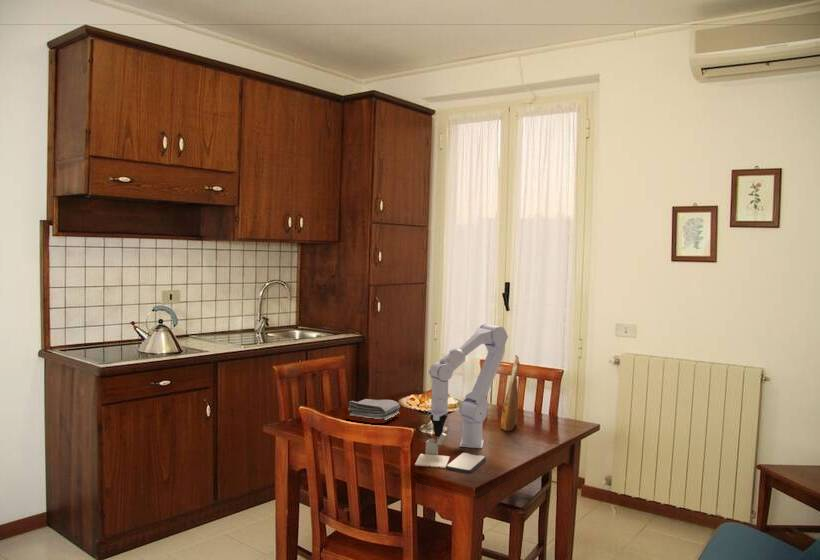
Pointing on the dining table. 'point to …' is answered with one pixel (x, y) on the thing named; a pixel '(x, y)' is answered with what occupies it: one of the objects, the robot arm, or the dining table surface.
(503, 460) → the dining table surface
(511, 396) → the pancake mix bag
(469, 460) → the phone case
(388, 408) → the towel
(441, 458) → the mat
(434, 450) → the lighter
